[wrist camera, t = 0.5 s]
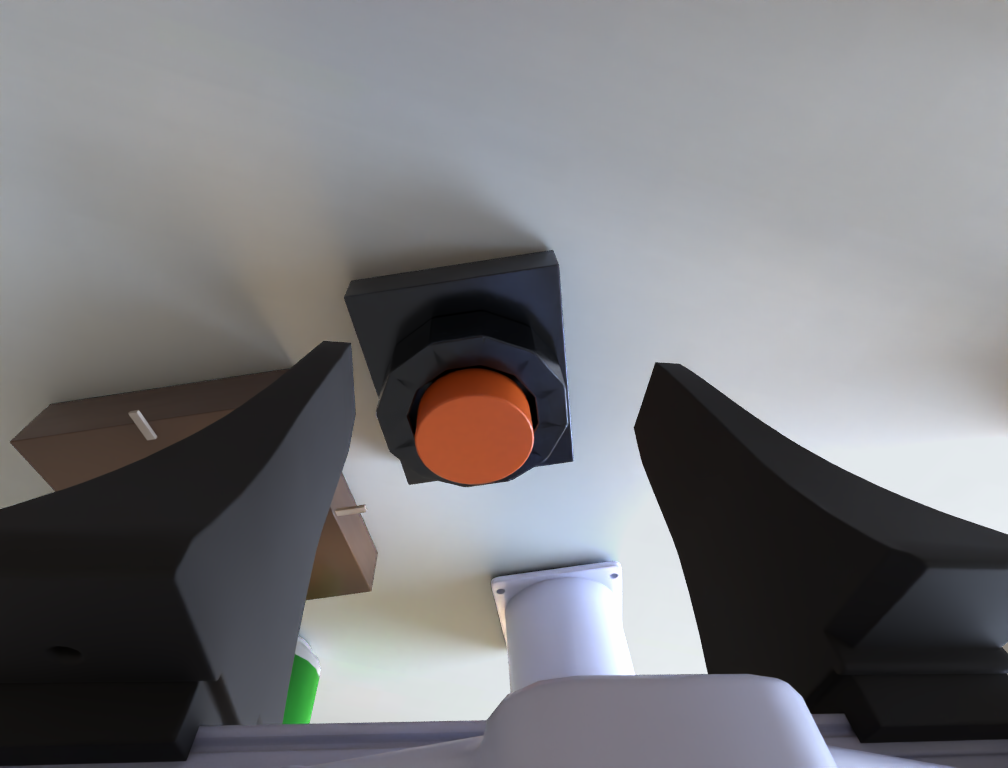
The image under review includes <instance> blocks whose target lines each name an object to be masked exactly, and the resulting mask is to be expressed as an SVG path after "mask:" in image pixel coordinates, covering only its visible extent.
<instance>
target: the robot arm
mask: <svg viewBox="0 0 1008 768" xmlns="http://www.w3.org/2000/svg"><path fill="white" fill-rule="evenodd" d="M355 415H356V412H355V396H354V380H353V364H352V348H351V343H347V342H331V341H323V342H322V343H320V344H319V345H318V346H317V347H316V348H314V349H313V350H312V351H311V352H309V353H308V354H307V355H306V356H305V357H303V358H302V359H301V360H300V361H299V362H298V363H296V364H295V365H294V366H293V367H292V368H290V369H289V370H288V371H287V372H285V373H284V374H283V375H282V376H280V377H279V378H278V379H277V380H275V381H274V382H273V383H272V384H270V385H269V386H268V387H266V388H265V389H263V390H262V391H261V392H259V393H258V394H256V395H255V396H254V397H252V398H251V399H249V400H248V401H247V402H245V403H244V404H242V405H241V406H240V407H238V408H237V409H235V410H233V411H232V412H230V413H229V414H227V415H226V416H224V417H222V418H221V419H219V420H217V421H216V422H214V423H212V424H210V425H209V426H207V427H205V428H203V429H202V430H200V431H198V432H196V433H194V434H192V435H191V436H189V437H187V438H185V439H183V440H180V441H178V442H176V443H174V444H172V445H170V446H168V447H166V448H164V449H162V450H160V451H158V452H156V453H154V454H151V455H149V456H147V457H145V458H143V459H141V460H138V461H136V462H134V463H131V464H129V465H126V466H124V467H122V468H119V469H117V470H114V471H112V472H109V473H106V474H104V475H101V476H99V477H96V478H93V479H91V480H88V481H86V482H83V483H80V484H77V485H74V486H72V487H69V488H66V489H63V490H59V491H56V492H53V493H50V494H47V495H44V496H41V497H38V498H35V499H32V500H29V501H25V502H22V503H19V504H16V505H13V506H10V507H6V508H3V509H0V768H1008V675H1007V673H1008V653H1007V652H1006V651H1005V650H1004V649H1003V648H1002V646H1003V645H1005V644H1006V643H1007V642H1008V534H1005V533H1002V532H999V531H996V530H993V529H990V528H987V527H984V526H981V525H978V524H975V523H972V522H969V521H966V520H963V519H960V518H957V517H955V516H952V515H949V514H946V513H943V512H941V511H938V510H935V509H933V508H930V507H928V506H925V505H923V504H920V503H918V502H915V501H913V500H910V499H908V498H905V497H903V496H900V495H898V494H896V493H893V492H891V491H889V490H886V489H884V488H882V487H880V486H877V485H875V484H873V483H871V482H869V481H867V480H865V479H863V478H861V477H858V476H856V475H854V474H852V473H850V472H848V471H846V470H844V469H842V468H840V467H838V466H836V465H834V464H832V463H830V462H828V461H827V460H825V459H823V458H821V457H819V456H818V455H816V454H814V453H812V452H810V451H809V450H807V449H805V448H803V447H802V446H800V445H798V444H796V443H795V442H793V441H792V440H790V439H788V438H787V437H785V436H783V435H782V434H780V433H779V432H777V431H776V430H774V429H773V428H771V427H770V426H768V425H767V424H765V423H764V422H762V421H761V420H759V419H758V418H756V417H755V416H753V415H752V414H750V413H749V412H748V411H746V410H745V409H743V408H742V407H741V406H739V405H738V404H736V403H735V402H734V401H732V400H731V399H730V398H728V397H727V396H725V395H724V394H723V393H721V392H720V391H719V390H717V389H716V388H714V387H713V386H712V385H710V384H709V383H708V382H706V381H705V380H704V379H702V378H701V377H699V376H698V375H696V374H695V373H694V372H692V371H691V370H689V369H687V368H686V367H684V366H682V365H681V364H673V363H658V362H656V363H655V366H654V369H653V372H652V375H651V378H650V381H649V384H648V387H647V390H646V393H645V396H644V399H643V402H642V405H641V408H640V411H639V414H638V417H637V420H636V423H635V426H634V430H635V435H636V440H637V444H638V448H639V452H640V456H641V460H642V464H643V466H644V469H645V472H646V474H647V477H648V479H649V482H650V484H651V487H652V489H653V492H654V494H655V497H656V499H657V501H658V504H659V506H660V509H661V511H662V514H663V516H664V519H665V521H666V524H667V526H668V528H669V531H670V533H671V536H672V538H673V541H674V544H675V547H676V550H677V552H678V555H679V559H680V562H681V566H682V569H683V573H684V576H685V580H686V583H687V587H688V591H689V594H690V598H691V602H692V606H693V610H694V614H695V618H696V622H697V626H698V630H699V635H700V639H701V644H702V649H703V653H704V658H705V663H706V667H707V672H708V674H681V675H635V674H634V670H633V666H632V662H631V658H630V654H629V651H628V647H627V643H626V639H625V635H624V631H623V628H622V568H621V565H620V563H619V562H617V561H609V562H601V563H594V564H587V565H579V566H572V567H565V568H558V569H550V570H543V571H536V572H528V573H521V574H514V575H506V576H499V577H495V578H493V579H492V581H491V588H492V592H493V595H494V599H495V603H496V607H497V611H498V615H499V619H500V623H501V627H502V631H503V635H504V639H505V643H506V647H507V650H508V664H509V678H510V694H508V695H507V696H506V697H505V698H504V699H503V701H502V702H501V703H500V704H499V706H498V707H497V708H496V709H495V711H494V712H493V713H492V714H491V716H490V717H489V718H488V719H487V720H481V721H430V722H378V723H326V724H282V723H283V717H284V711H285V705H286V699H287V694H288V688H289V682H290V677H291V672H292V666H293V661H294V656H295V650H296V645H297V640H298V634H299V629H300V625H301V620H302V615H303V610H304V605H305V600H306V595H307V590H308V586H309V581H310V577H311V572H312V568H313V563H314V558H315V554H316V550H317V546H318V542H319V539H320V535H321V532H322V529H323V526H324V523H325V520H326V517H327V514H328V511H329V508H330V505H331V502H332V499H333V496H334V493H335V490H336V487H337V484H338V482H339V479H340V476H341V473H342V470H343V466H344V463H345V460H346V457H347V454H348V451H349V447H350V442H351V437H352V431H353V426H354V420H355Z"/></svg>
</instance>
